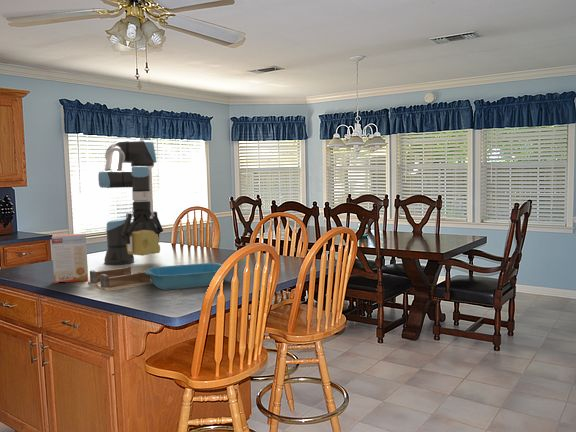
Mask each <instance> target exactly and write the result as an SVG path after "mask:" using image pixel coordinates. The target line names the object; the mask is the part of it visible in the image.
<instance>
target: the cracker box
mask: <svg viewBox="0 0 576 432" xmlns="http://www.w3.org/2000/svg"><path fill="white" fill-rule="evenodd" d="M86 235H87V234H86V233H73V234H72V233H71V234H70V233H69V234H57V235H54V234H53V235H51V250H52V251H51V252H52V254H51V255H52V266H53V267H52V268H53V270H52V271H53V281H54V282H53V283H54V284H60V283H59V282H66V283H74V282H77V283H78V282H88V281H89V269H88V267H89V266H88V251H87V250H88V249H87V236H86Z"/></svg>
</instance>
